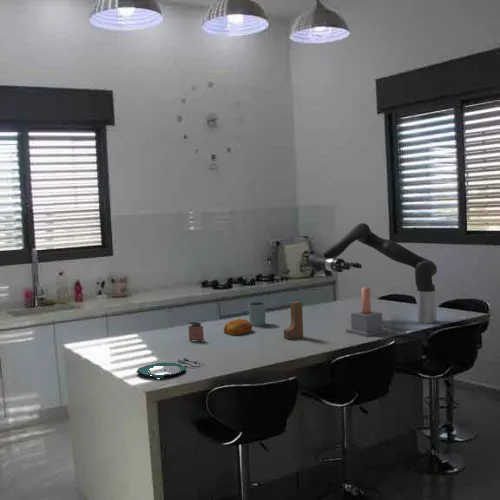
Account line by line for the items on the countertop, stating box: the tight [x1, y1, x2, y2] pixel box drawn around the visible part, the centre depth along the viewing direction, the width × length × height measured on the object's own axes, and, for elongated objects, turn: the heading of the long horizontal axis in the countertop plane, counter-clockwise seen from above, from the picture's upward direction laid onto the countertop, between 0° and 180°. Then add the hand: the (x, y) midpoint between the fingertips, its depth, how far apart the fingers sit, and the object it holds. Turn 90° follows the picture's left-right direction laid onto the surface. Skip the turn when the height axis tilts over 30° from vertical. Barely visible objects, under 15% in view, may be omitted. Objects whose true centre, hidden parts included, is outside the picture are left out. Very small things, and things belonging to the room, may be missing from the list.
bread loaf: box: [223, 318, 253, 336], centre depth 340 cm, size 14×16×8 cm
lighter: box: [187, 320, 205, 342], centre depth 323 cm, size 8×3×10 cm, turn 71°
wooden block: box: [283, 300, 304, 340], centre depth 320 cm, size 9×4×18 cm, turn 118°
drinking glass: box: [247, 301, 267, 327], centre depth 357 cm, size 10×10×12 cm
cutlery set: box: [136, 357, 199, 379], centre depth 271 cm, size 20×30×2 cm, turn 136°
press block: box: [345, 310, 389, 338], centre depth 326 cm, size 15×15×10 cm
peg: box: [361, 286, 372, 314], centre depth 326 cm, size 4×4×20 cm
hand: (355, 267), depth 339 cm, fingers open, 8 cm apart
